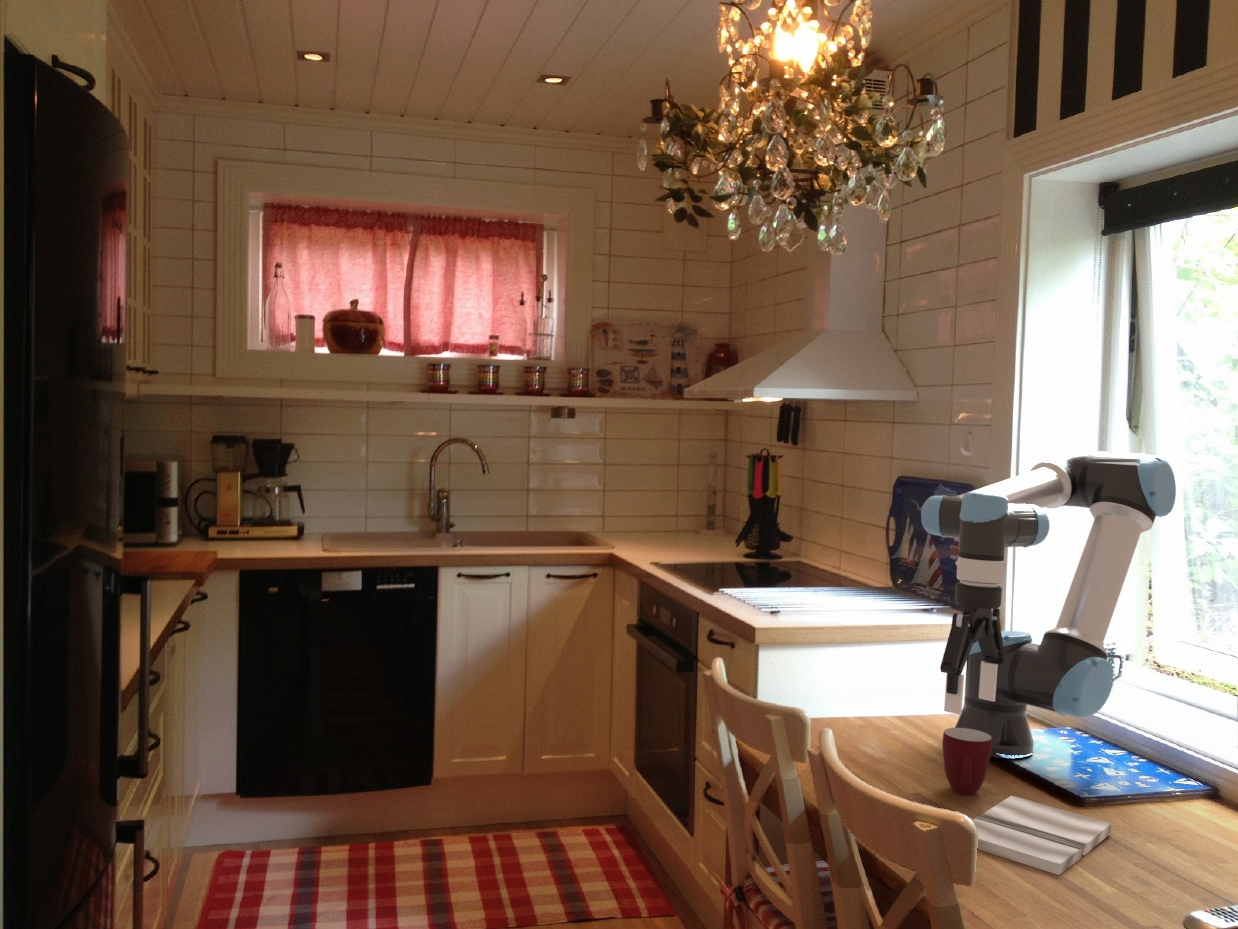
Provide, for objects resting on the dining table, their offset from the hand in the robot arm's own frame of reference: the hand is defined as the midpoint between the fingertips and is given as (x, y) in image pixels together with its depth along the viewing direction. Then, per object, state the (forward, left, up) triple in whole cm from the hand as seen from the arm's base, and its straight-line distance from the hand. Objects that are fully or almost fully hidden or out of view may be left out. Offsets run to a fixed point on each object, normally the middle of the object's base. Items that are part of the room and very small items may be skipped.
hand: (970, 706), depth 185 cm
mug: (0, 0, -16) cm, 16 cm away
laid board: (+17, +16, -15) cm, 28 cm away
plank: (+6, +16, -15) cm, 23 cm away
